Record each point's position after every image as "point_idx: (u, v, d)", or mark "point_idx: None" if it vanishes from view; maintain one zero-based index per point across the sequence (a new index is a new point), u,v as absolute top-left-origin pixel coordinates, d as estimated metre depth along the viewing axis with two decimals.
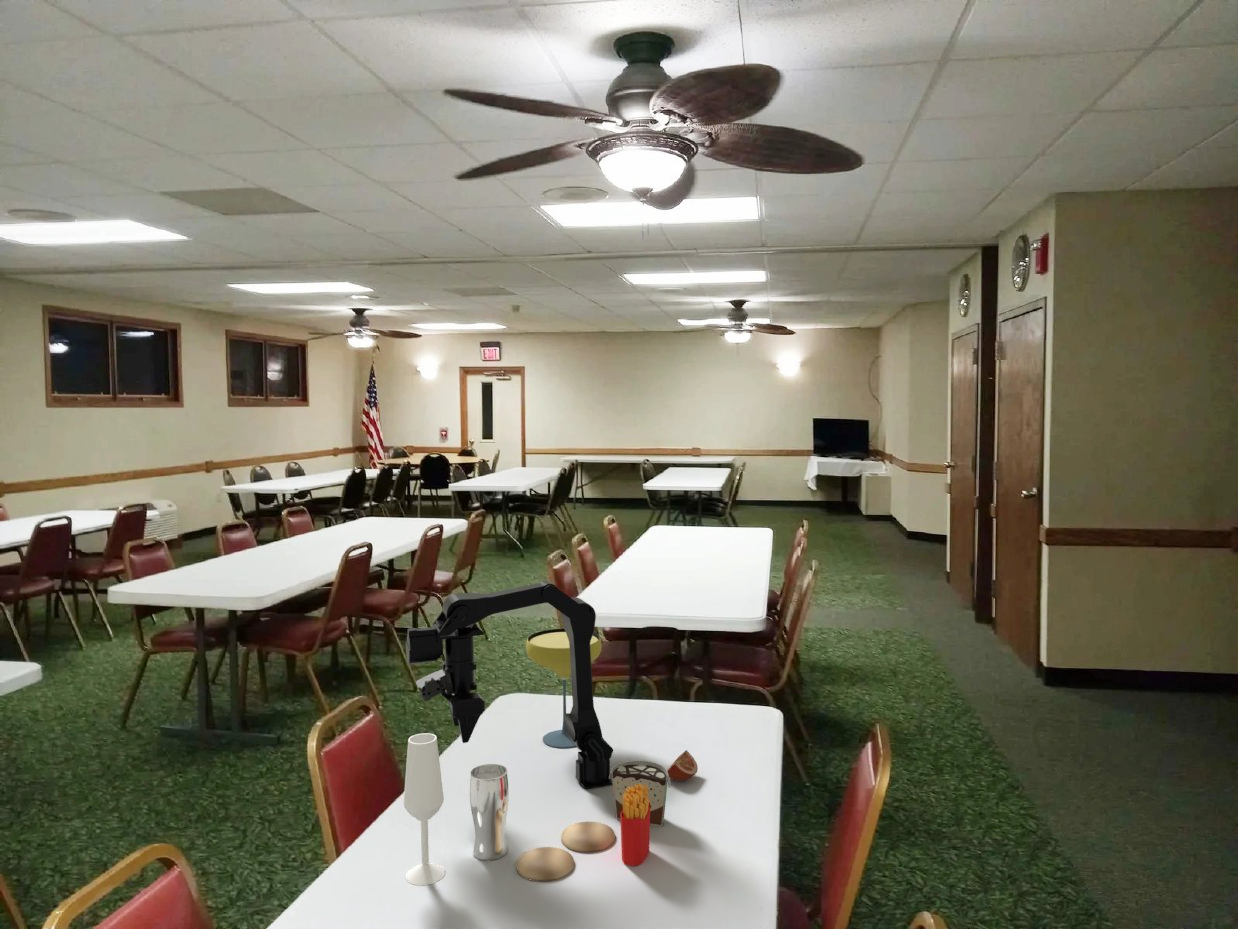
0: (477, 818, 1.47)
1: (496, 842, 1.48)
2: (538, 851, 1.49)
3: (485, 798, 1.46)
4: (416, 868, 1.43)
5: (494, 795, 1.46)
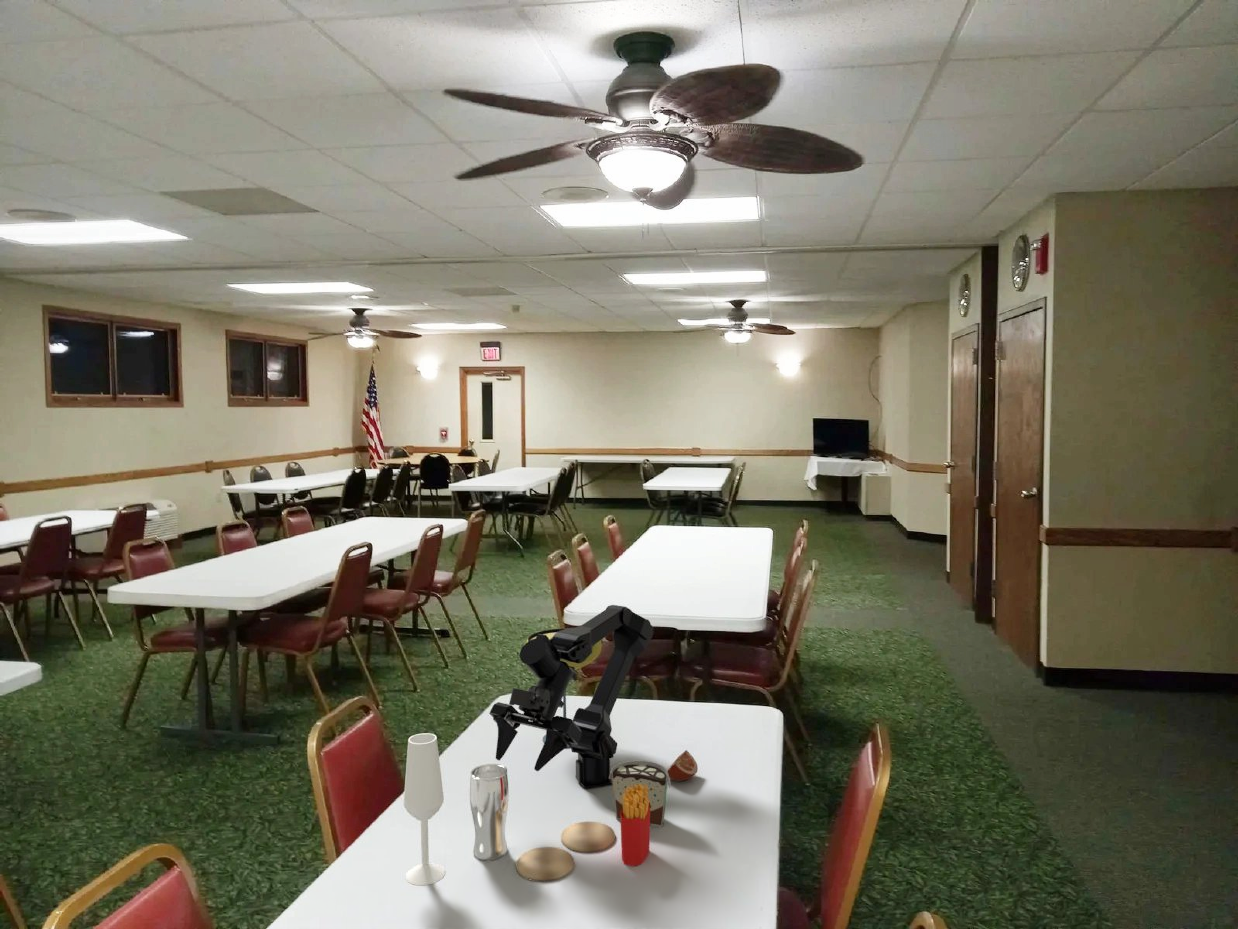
0: (477, 818, 1.47)
1: (496, 842, 1.48)
2: (538, 851, 1.49)
3: (485, 798, 1.46)
4: (416, 868, 1.43)
5: (494, 795, 1.46)
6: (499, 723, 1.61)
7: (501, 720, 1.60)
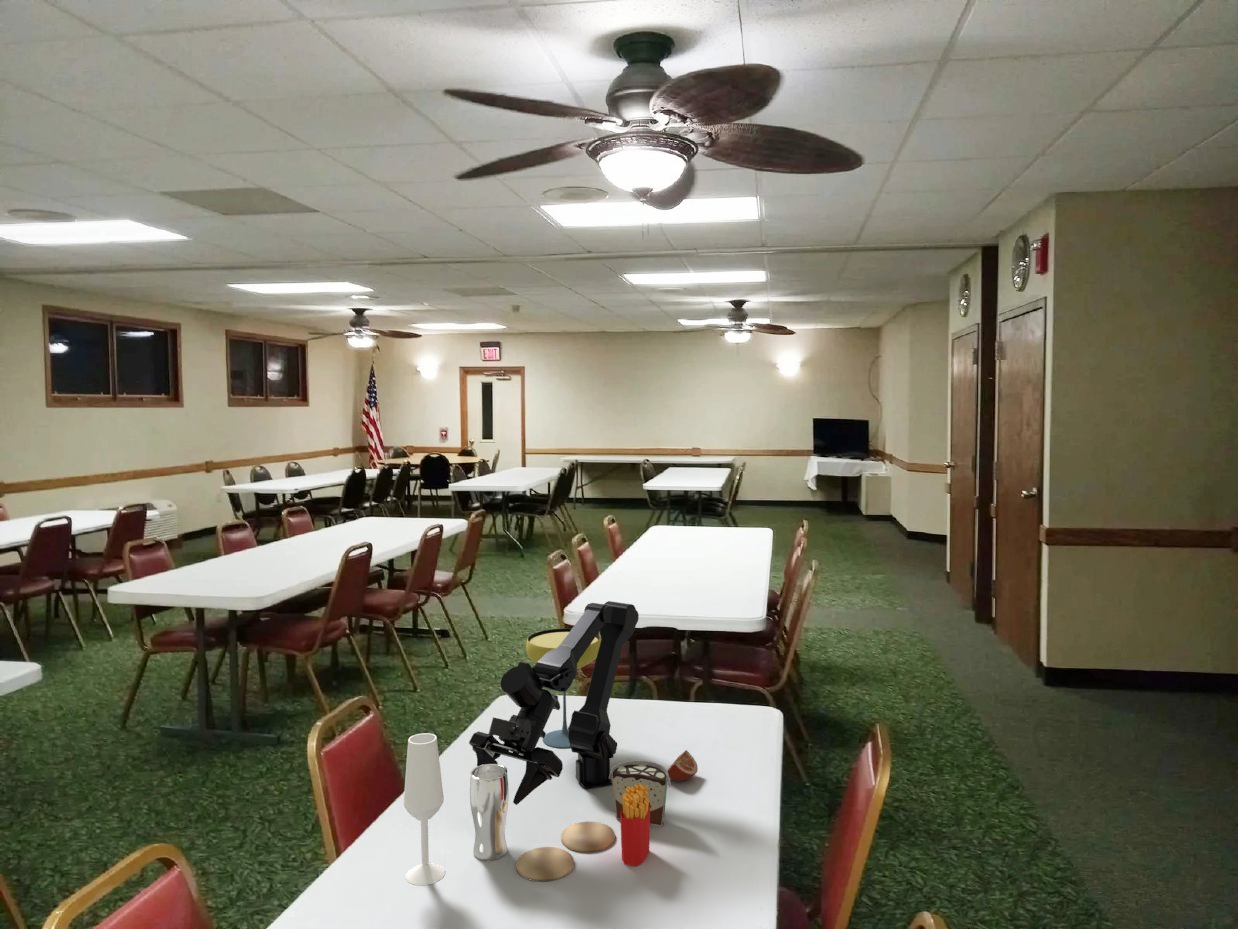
0: (477, 818, 1.47)
1: (496, 842, 1.48)
2: (538, 851, 1.49)
3: (485, 798, 1.46)
4: (416, 868, 1.43)
5: (494, 795, 1.46)
6: (478, 753, 1.56)
7: (480, 750, 1.56)
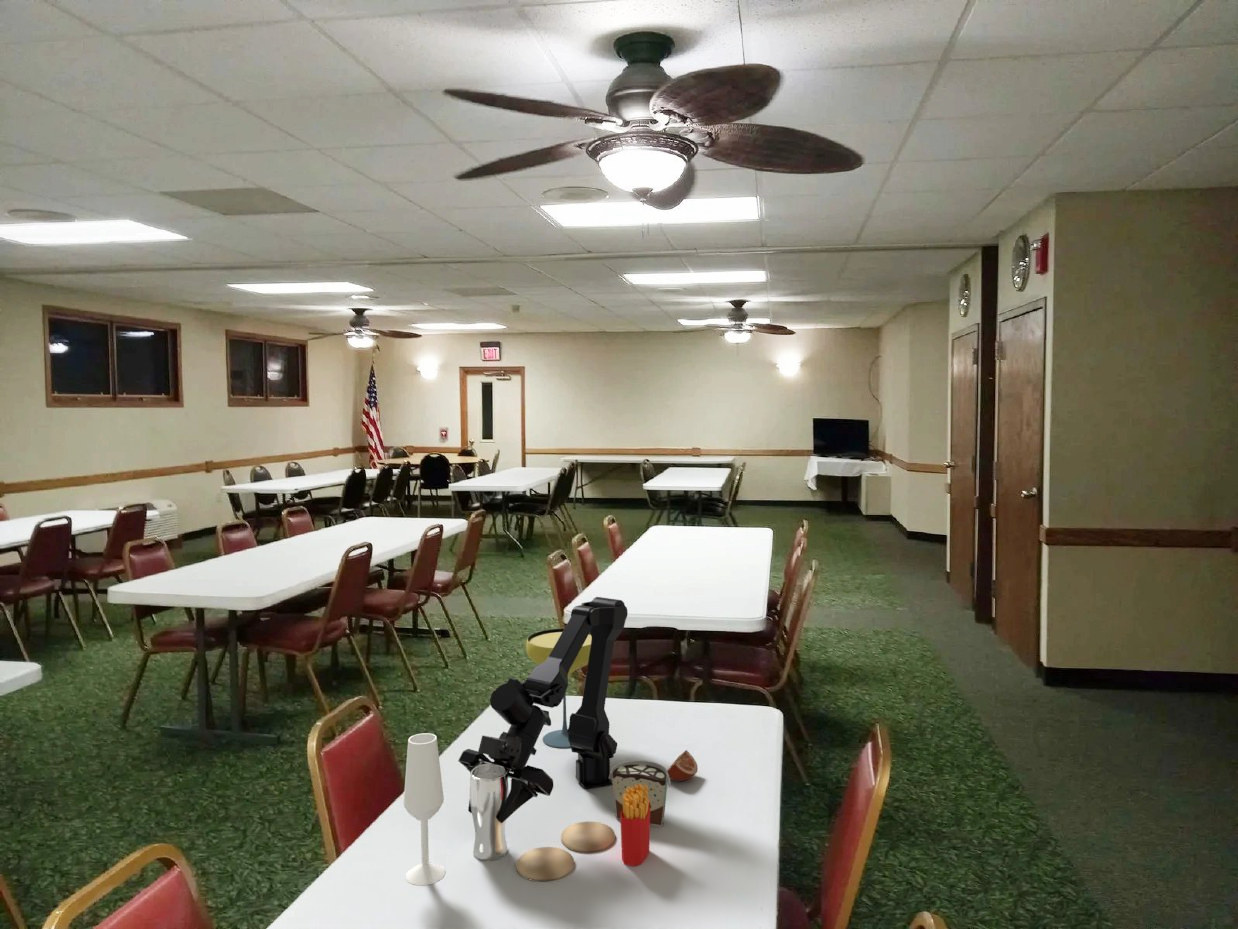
0: (477, 818, 1.47)
1: (496, 842, 1.48)
2: (538, 851, 1.49)
3: (485, 798, 1.46)
4: (416, 868, 1.43)
5: (494, 795, 1.46)
6: None
7: None
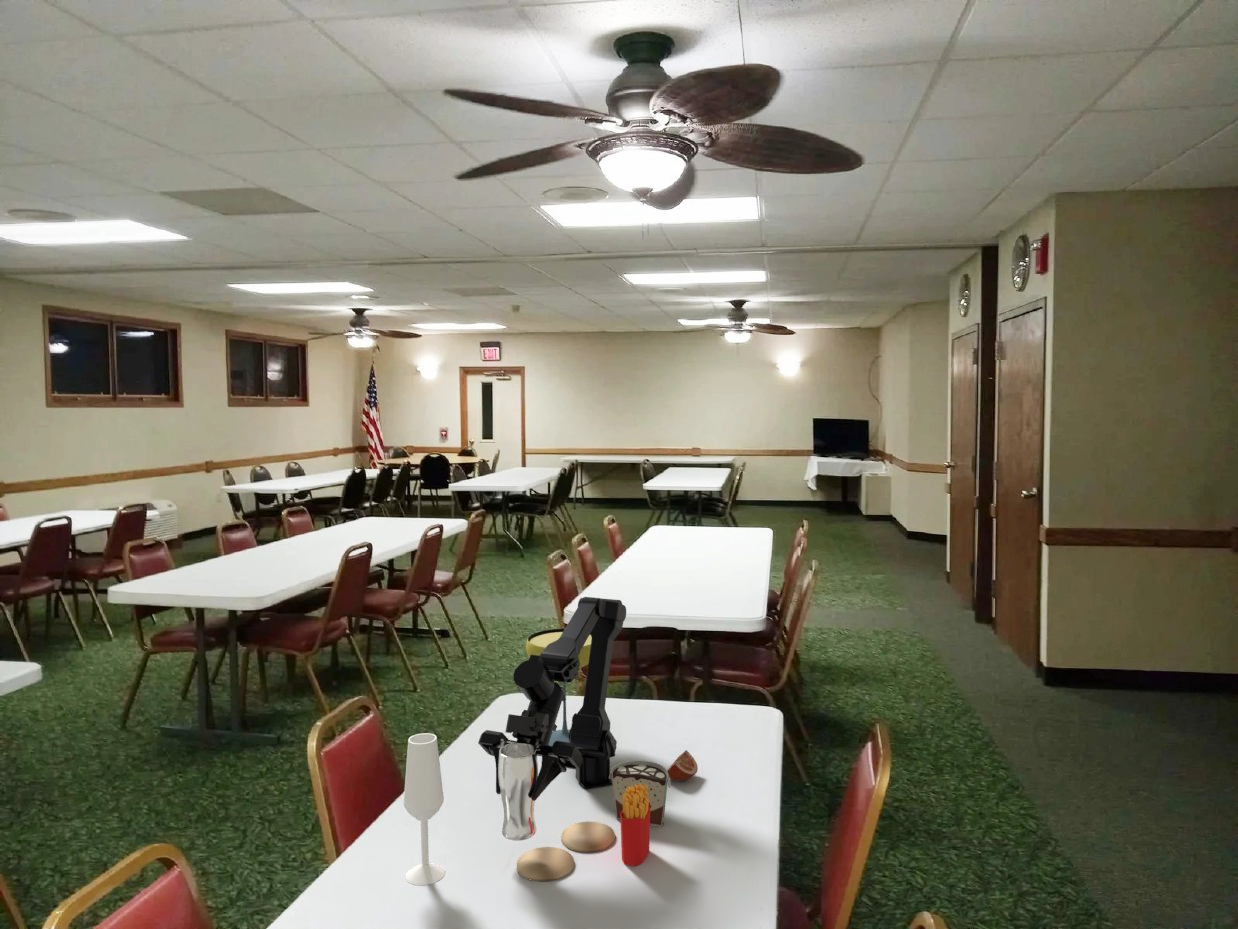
0: (509, 798, 1.44)
1: (528, 821, 1.45)
2: (538, 851, 1.49)
3: (517, 776, 1.43)
4: (416, 868, 1.43)
5: (527, 773, 1.43)
6: (496, 754, 1.49)
7: None
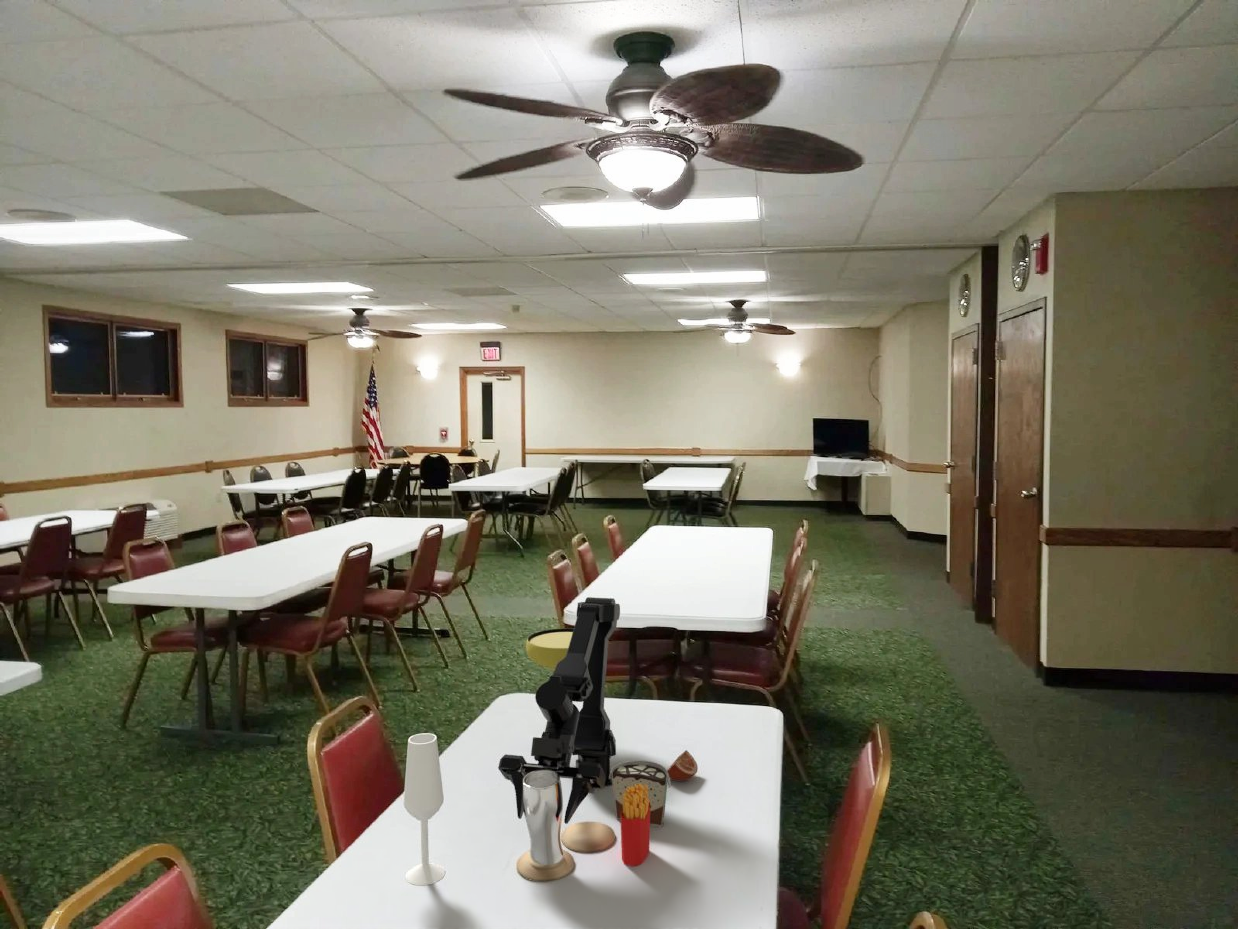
0: (537, 828, 1.42)
1: (557, 847, 1.44)
2: None
3: (545, 806, 1.42)
4: (416, 868, 1.43)
5: (554, 801, 1.42)
6: (515, 778, 1.47)
7: (518, 774, 1.47)
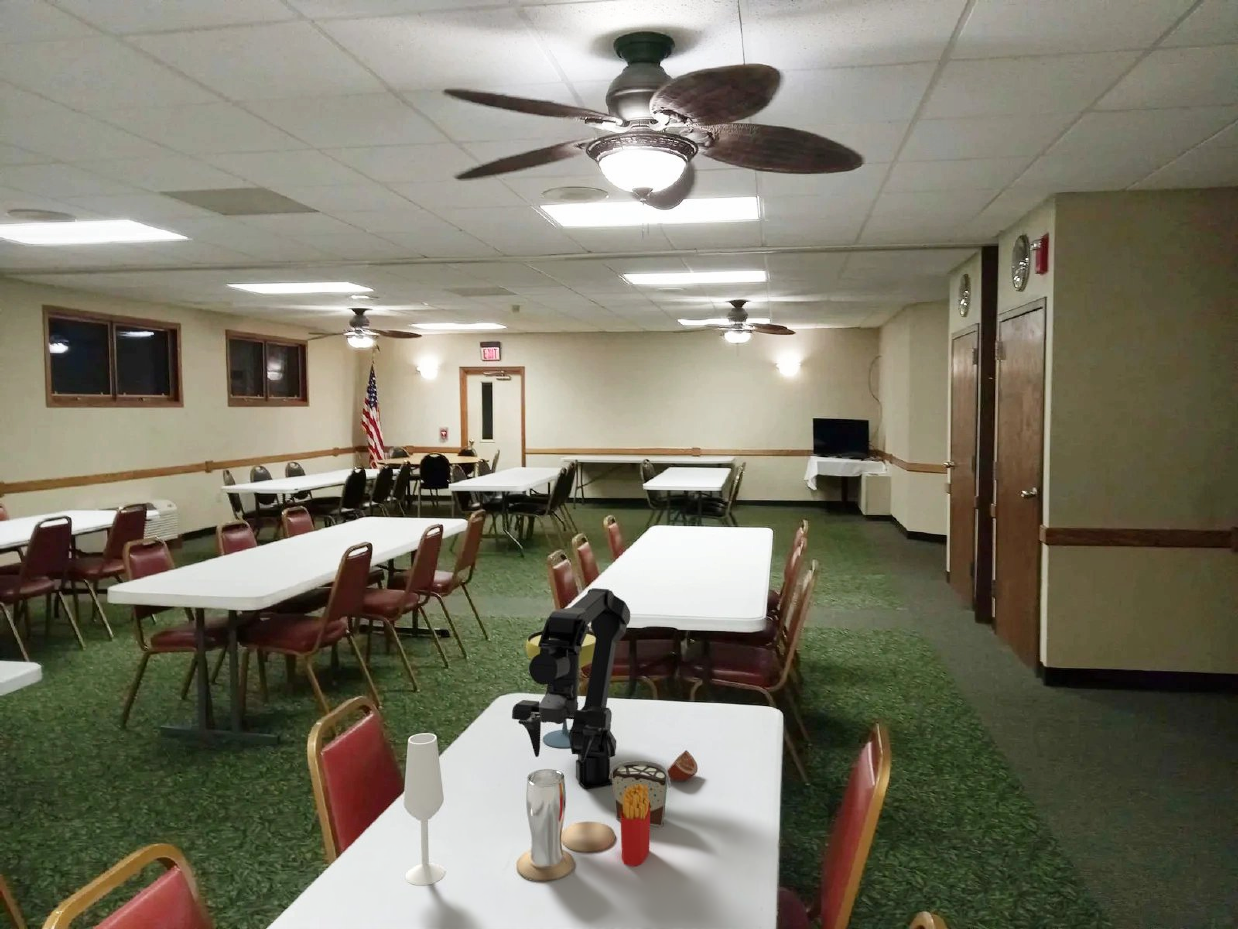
0: (539, 826, 1.43)
1: (557, 848, 1.44)
2: None
3: (549, 804, 1.42)
4: (416, 868, 1.43)
5: (558, 800, 1.43)
6: (527, 726, 1.60)
7: (529, 724, 1.60)
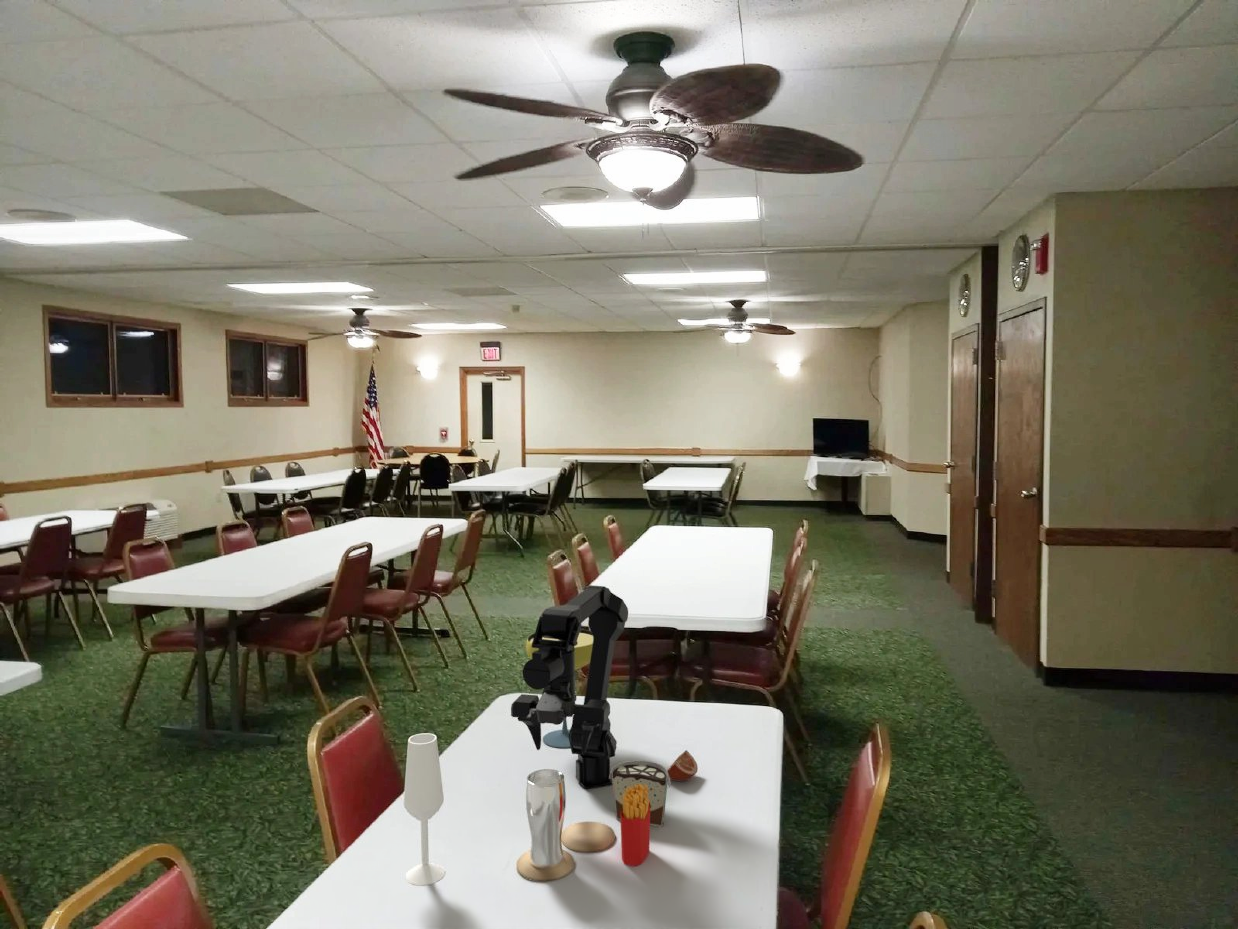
0: (539, 826, 1.43)
1: (557, 848, 1.44)
2: None
3: (549, 804, 1.42)
4: (416, 868, 1.43)
5: (558, 800, 1.43)
6: (527, 723, 1.61)
7: (528, 721, 1.61)
